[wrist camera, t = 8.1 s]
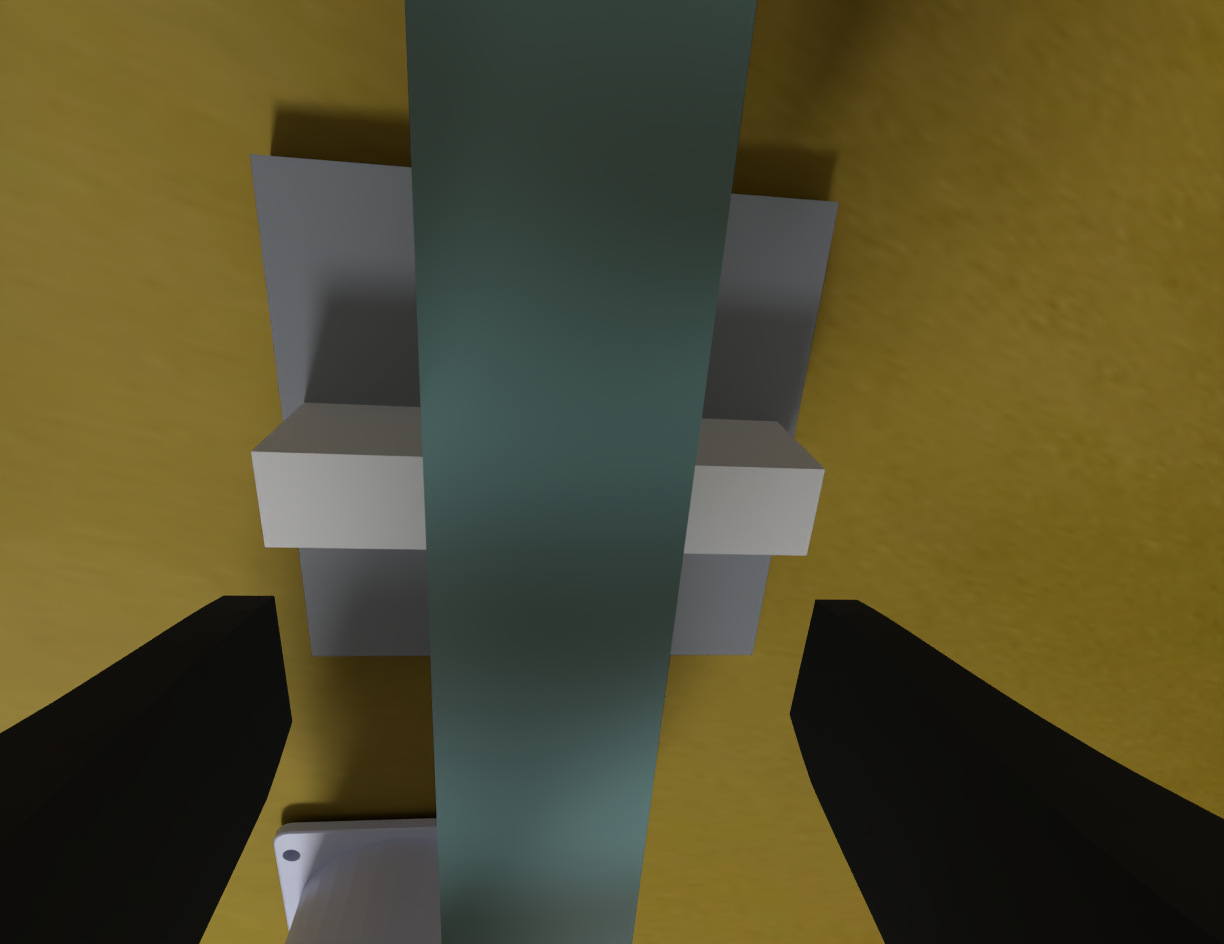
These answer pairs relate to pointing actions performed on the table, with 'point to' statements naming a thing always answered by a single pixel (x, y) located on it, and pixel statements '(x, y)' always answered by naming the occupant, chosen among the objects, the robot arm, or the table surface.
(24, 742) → the robot arm
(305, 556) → the stand
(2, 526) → the table surface
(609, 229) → the teal bar
